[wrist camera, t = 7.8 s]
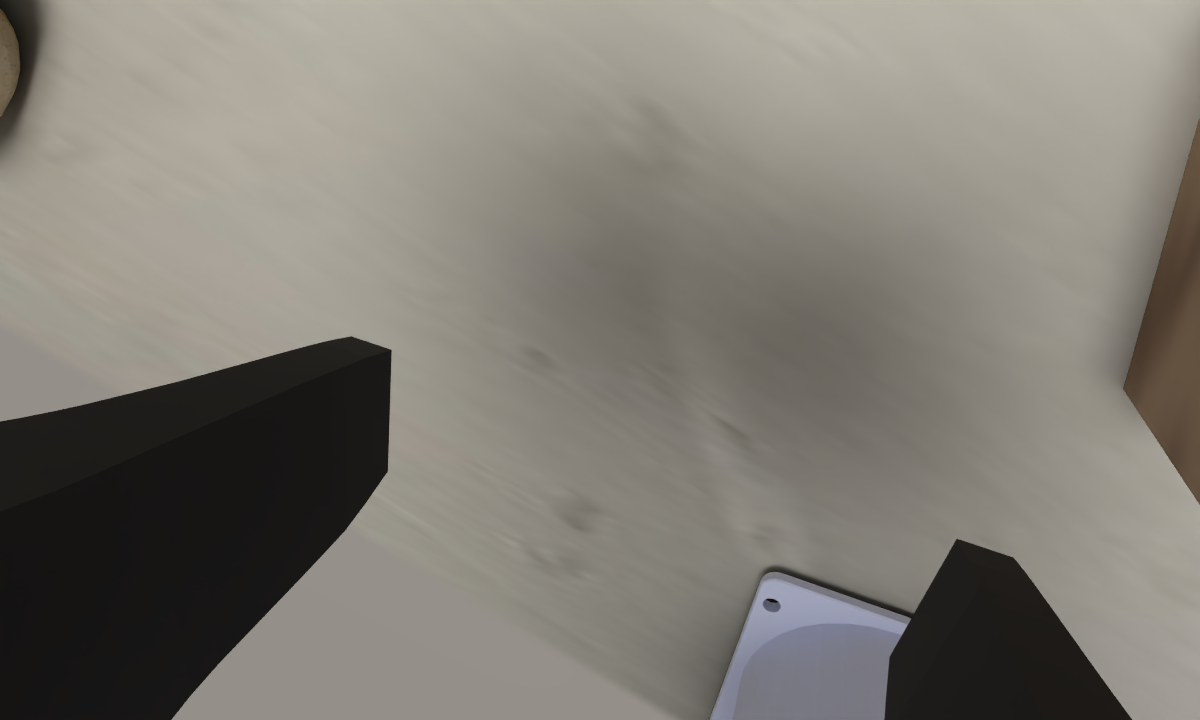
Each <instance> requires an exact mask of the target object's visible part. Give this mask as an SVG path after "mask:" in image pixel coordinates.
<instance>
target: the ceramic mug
mask: <svg viewBox="0 0 1200 720" xmlns="http://www.w3.org/2000/svg"><path fill="white" fill-rule="evenodd" d="M19 73H20V58H19V43H18V41H17V38H16V35H15V32H14V29H13V27H12V26H11V24H10V23H9V21H8V19H7V17H6V16H5V14H4V12H3V11H2V10H1V9H0V117H1V116H2V115H3V113H4V111H5V109H6V107H7V105H8V104H9V102H10V100H11V98H12V96H13V94H14V92H15V89H16V86H17V82H18V77H19Z"/></svg>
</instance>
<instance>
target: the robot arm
mask: <svg viewBox="0 0 1200 720" xmlns="http://www.w3.org/2000/svg"><path fill="white" fill-rule="evenodd" d="M391 351H392V350H390V349H387V348H384V347H381V346H378V345H375V344H372V343H369V342H366V341H363V340H360V339H357V338H354V337H346V338H341V339H335V340H331V341H326V342H322V343H318V344H314V345H310V346H306V347H302V348H299V349H295V350H291V351H288V352H284V353H280V354H277V355H273V356H269V357H266V358H262V359H259V360H255V361H252V362H248V363H244V364H241V365H237V366H234V367H230V368H226V369H223V370H219V371H215V372H212V373H208V374H205V375H201V376H197V377H194V378H190V379H187V380H183V381H179V382H175V383H171V384H167V385H163V386H159V387H155V388H151V389H147V390H142V391H138V392H134V393H130V394H126V395H122V396H118V397H114V398H110V399H106V400H101V401H97V402H94V403H90V404H85V405H81V406H77V407H72V408H67V409H63V410H58V411H53V412H48V413H43V414H39V415H33V416H28V417H24V418H18V419H12V420H7V421H1V422H0V720H171V719H172V718H173V717H174V716H175V714H176V713H177V712H178V711H179V709H180V708H181V707H182V706H183V704H184V703H185V702H186V701H187V699H188V698H189V697H190V696H191V694H192V693H193V692H194V691H195V690H196V688H198V686H199V685H200V684H201V683H202V682H203V681H204V680H205V679H206V677H207V676H208V675H209V674H210V673H211V672H212V670H213V669H214V668H215V667H216V666H217V665H218V664H219V663H220V662H221V661H222V660H223V659H224V657H225V656H226V655H227V654H228V653H229V652H230V651H231V650H232V649H233V648H234V647H235V646H236V645H237V644H238V643H239V642H240V641H241V640H242V639H243V638H244V637H245V635H246V634H248V632H249V631H250V630H251V629H252V628H253V627H254V626H255V625H256V624H257V623H258V622H259V621H260V620H261V619H262V618H263V617H264V616H265V615H266V614H267V613H268V612H269V610H271V608H272V607H273V606H274V605H275V604H276V603H277V602H278V601H279V600H280V599H281V598H282V597H283V596H284V595H285V594H286V593H287V592H288V591H289V589H291V587H293V586H294V584H295V583H296V582H297V581H298V580H299V579H300V578H301V577H302V576H303V575H304V574H305V573H306V572H307V571H308V570H309V569H310V568H311V566H312V565H313V564H314V563H315V562H316V561H317V560H318V559H319V558H320V557H321V556H322V555H323V554H324V553H325V552H326V551H327V550H328V548H329V547H330V546H331V545H332V544H333V543H334V542H335V541H336V540H337V539H338V538H339V536H340V535H341V534H342V533H343V532H344V531H345V530H346V529H347V527H348V526H349V525H350V523H351V522H352V521H353V519H354V518H355V517H356V515H357V514H358V513H359V511H360V510H361V509H362V507H363V506H364V505H365V503H366V502H367V500H368V499H369V497H370V496H371V495H372V493H373V492H374V490H375V489H376V487H377V486H378V485H379V483H380V482H381V480H382V479H383V477H384V476H385V475H386V473H387V472H388V446H389V414H390V382H391ZM768 598H771V599H775V600H777V601H778V603H772V602H769V601H768V600H766V599H768ZM710 720H1132V719H1131V718H1130V716H1129V715H1128V714H1127V712H1126V711H1125V709H1124V708H1123V707H1122V705H1121V704H1120V703H1119V701H1118V700H1117V699H1116V697H1115V696H1114V695H1113V693H1112V692H1111V690H1110V689H1109V688H1108V686H1107V685H1106V684H1105V682H1104V681H1103V679H1102V678H1101V677H1100V675H1099V674H1098V672H1097V671H1096V670H1095V668H1094V667H1093V666H1092V664H1091V663H1090V661H1089V660H1088V659H1087V657H1086V656H1085V654H1084V653H1083V652H1082V650H1081V649H1080V647H1079V646H1078V645H1077V643H1076V642H1075V640H1074V639H1073V638H1072V636H1071V635H1070V633H1069V632H1068V631H1067V629H1066V628H1065V626H1064V625H1063V624H1062V622H1061V621H1060V619H1059V618H1058V617H1057V615H1056V614H1055V612H1054V611H1053V610H1052V608H1051V607H1050V605H1049V604H1048V603H1047V601H1046V600H1045V599H1044V597H1043V596H1042V594H1041V593H1040V592H1039V590H1038V589H1037V588H1036V586H1035V585H1034V583H1033V582H1032V581H1031V579H1030V578H1029V577H1028V575H1027V574H1026V573H1025V571H1024V570H1023V569H1022V568H1021V566H1020V565H1019V564H1018V563H1017V561H1016V560H1015V559H1014V558H1013V557H1010V556H1007V555H1004V554H1001V553H998V552H995V551H992V550H989V549H986V548H983V547H980V546H977V545H974V544H971V543H968V542H965V541H962V540H959V539H957V540H956V541H955V543H954V545H953V547H952V548H951V550H950V552H949V554H948V555H947V557H946V559H945V561H944V562H943V564H942V566H941V568H940V569H939V571H938V573H937V575H936V576H935V578H934V580H933V582H932V583H931V585H930V587H929V589H928V590H927V592H926V594H925V596H924V597H923V599H922V601H921V603H920V604H919V606H918V608H917V610H916V611H915V613H914V615H913V617H912V618H909V617H906V616H903V615H900V614H897V613H894V612H892V611H889V610H886V609H883V608H880V607H877V606H875V605H872V604H869V603H866V602H863V601H860V600H857V599H855V598H852V597H849V596H846V595H843V594H840V593H837V592H835V591H832V590H829V589H826V588H823V587H820V586H817V585H815V584H812V583H809V582H806V581H803V580H800V579H798V578H795V577H792V576H789V575H786V574H783V573H779V572H770V573H767V574H765V575H764V576H763V577H762V579H761V581H760V584H759V586H758V589H757V592H756V595H755V597H754V600H753V603H752V605H751V608H750V611H749V614H748V616H747V619H746V622H745V624H744V627H743V630H742V633H741V635H740V638H739V641H738V643H737V646H736V649H735V652H734V654H733V657H732V660H731V662H730V665H729V668H728V671H727V673H726V676H725V679H724V681H723V684H722V687H721V690H720V692H719V695H718V698H717V701H716V703H715V706H714V709H713V711H712V714H711V717H710Z"/></svg>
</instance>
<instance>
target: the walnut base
mask: <svg viewBox="0 0 1200 720" xmlns="http://www.w3.org/2000/svg"><path fill="white" fill-rule="evenodd" d="M1123 389H1124V391H1125V392H1126V394H1127V395H1128V397H1129V398H1130V400H1131V401H1132V403H1133V404H1134V406H1135V408H1136V409H1137V411H1138V412H1139V414H1140V415H1141V417H1142V418H1143V420H1144V421H1145V423H1146V424H1147V426H1148V427H1149V429H1150V430H1151V432H1152V433H1153V435H1154V436H1155V438H1156V439H1157V441H1158V442H1159V444H1160V445H1161V447H1162V448H1163V450H1164V451H1165V453H1166V454H1167V456H1168V457H1169V459H1170V460H1171V462H1172V463H1173V465H1174V466H1175V468H1176V469H1177V471H1178V473H1179V474H1180V476H1181V477H1182V479H1183V480H1184V482H1185V483H1186V485H1187V486H1188V488H1189V489H1190V491H1191V492H1192V494H1193V495H1194V497H1195V498H1196V500H1197V501H1198V503H1199V504H1200V118H1199V122H1198V125H1197V129H1196V132H1195V136H1194V139H1193V143H1192V146H1191V150H1190V153H1189V157H1188V161H1187V164H1186V168H1185V171H1184V175H1183V178H1182V182H1181V185H1180V189H1179V193H1178V196H1177V200H1176V203H1175V207H1174V210H1173V214H1172V217H1171V221H1170V225H1169V228H1168V232H1167V235H1166V239H1165V242H1164V246H1163V249H1162V253H1161V257H1160V260H1159V264H1158V267H1157V271H1156V274H1155V278H1154V281H1153V285H1152V289H1151V292H1150V296H1149V299H1148V303H1147V306H1146V310H1145V313H1144V317H1143V321H1142V324H1141V328H1140V331H1139V335H1138V338H1137V342H1136V345H1135V349H1134V353H1133V356H1132V360H1131V363H1130V367H1129V370H1128V374H1127V377H1126V381H1125V385H1124V388H1123Z"/></svg>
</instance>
